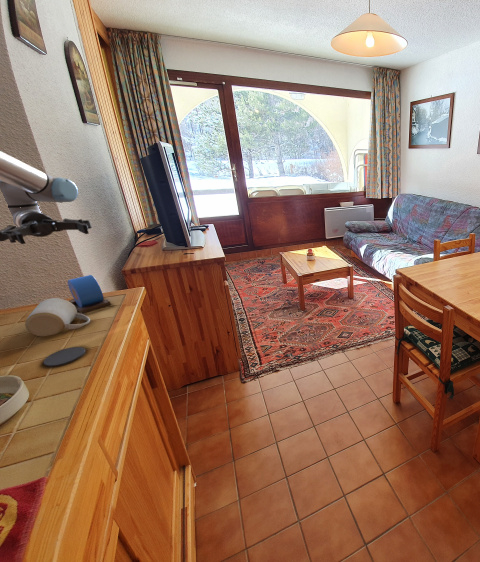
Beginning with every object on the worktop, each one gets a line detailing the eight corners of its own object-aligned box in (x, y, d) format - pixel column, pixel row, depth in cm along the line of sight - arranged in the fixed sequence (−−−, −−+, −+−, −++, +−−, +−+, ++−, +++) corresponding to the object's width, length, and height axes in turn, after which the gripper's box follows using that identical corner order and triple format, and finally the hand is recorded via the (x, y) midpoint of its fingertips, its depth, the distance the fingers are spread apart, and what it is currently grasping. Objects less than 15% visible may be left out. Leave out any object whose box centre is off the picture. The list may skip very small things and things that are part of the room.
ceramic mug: (29, 342, 74) (16, 314, 72) (44, 326, 81) (32, 299, 78) (85, 332, 79) (75, 306, 76) (95, 318, 86) (86, 293, 83)
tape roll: (84, 311, 87) (74, 284, 84) (74, 302, 91) (64, 276, 88) (106, 305, 91) (97, 279, 88) (95, 296, 95) (87, 271, 92)
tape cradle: (112, 307, 91) (110, 301, 91) (83, 316, 86) (81, 310, 86) (99, 298, 97) (96, 292, 96) (71, 306, 92) (68, 300, 91)
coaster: (35, 366, 67) (34, 363, 66) (67, 347, 73) (66, 345, 73) (63, 368, 66) (62, 366, 66) (93, 350, 72) (92, 348, 72)
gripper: (89, 227, 111) (112, 237, 100) (-18, 243, 91) (-4, 257, 81) (81, 206, 108) (104, 214, 97) (-31, 218, 89) (-18, 229, 78)
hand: (55, 234), depth 89 cm, fingers open, 13 cm apart
